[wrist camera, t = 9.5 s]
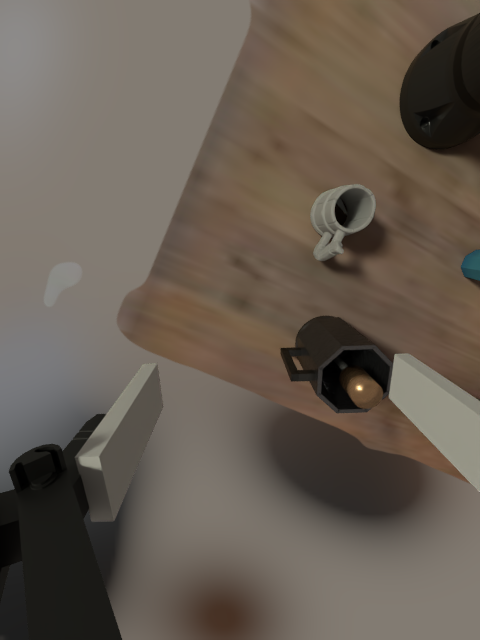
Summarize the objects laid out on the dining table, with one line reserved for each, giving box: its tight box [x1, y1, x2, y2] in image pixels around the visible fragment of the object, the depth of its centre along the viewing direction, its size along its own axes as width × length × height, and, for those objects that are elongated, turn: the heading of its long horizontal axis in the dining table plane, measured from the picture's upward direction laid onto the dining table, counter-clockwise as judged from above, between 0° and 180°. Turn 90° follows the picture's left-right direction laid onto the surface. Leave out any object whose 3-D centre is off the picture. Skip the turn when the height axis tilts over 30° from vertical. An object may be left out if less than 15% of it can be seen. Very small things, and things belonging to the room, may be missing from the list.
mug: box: [310, 184, 376, 261], centre depth 42 cm, size 8×12×12 cm, turn 159°
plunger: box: [331, 351, 383, 409], centre depth 44 cm, size 6×6×17 cm
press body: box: [281, 316, 393, 413], centre depth 47 cm, size 15×11×15 cm
